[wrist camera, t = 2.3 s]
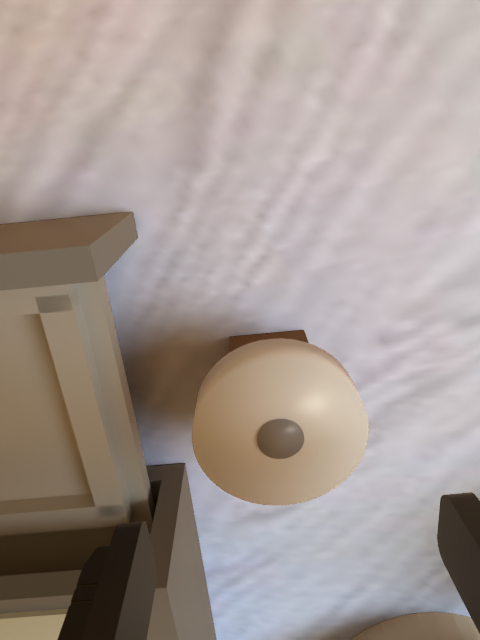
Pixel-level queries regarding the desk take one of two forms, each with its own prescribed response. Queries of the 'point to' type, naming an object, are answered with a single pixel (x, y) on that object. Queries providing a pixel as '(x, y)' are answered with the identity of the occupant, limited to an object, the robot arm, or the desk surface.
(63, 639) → the robot arm
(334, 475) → the beige knobbed lid
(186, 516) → the housing
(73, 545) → the tray
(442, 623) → the flag stand
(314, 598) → the desk surface
